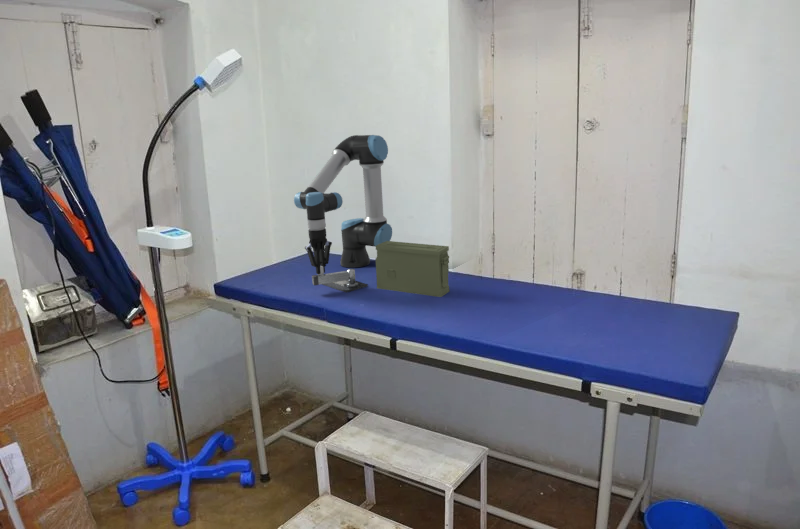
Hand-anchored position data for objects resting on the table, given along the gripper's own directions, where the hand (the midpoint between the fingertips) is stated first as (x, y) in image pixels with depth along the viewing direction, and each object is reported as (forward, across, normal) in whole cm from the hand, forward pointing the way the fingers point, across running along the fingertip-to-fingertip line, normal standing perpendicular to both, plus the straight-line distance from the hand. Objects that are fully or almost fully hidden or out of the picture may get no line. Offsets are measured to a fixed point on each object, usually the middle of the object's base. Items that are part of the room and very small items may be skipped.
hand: (321, 280), depth 265 cm
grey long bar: (+2, -4, +4) cm, 6 cm away
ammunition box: (+5, -28, +30) cm, 41 cm away
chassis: (+5, -11, 0) cm, 12 cm away
